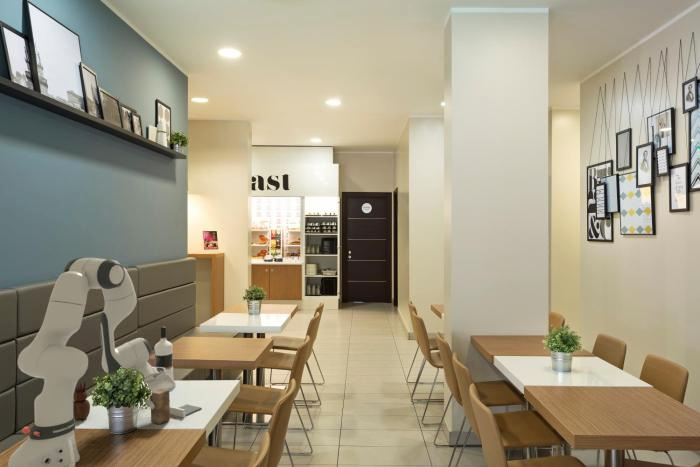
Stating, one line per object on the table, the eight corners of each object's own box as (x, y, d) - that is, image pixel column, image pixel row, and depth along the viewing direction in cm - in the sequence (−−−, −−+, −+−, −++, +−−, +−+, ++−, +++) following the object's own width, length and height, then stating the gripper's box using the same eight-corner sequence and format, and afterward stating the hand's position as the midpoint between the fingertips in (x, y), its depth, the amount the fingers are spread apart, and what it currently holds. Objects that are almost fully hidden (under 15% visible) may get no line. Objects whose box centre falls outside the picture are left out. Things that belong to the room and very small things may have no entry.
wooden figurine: (93, 416, 209) (92, 380, 209) (84, 421, 203) (83, 384, 203) (77, 415, 210) (76, 379, 209) (68, 421, 204) (67, 384, 204)
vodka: (172, 391, 239) (171, 328, 239) (151, 392, 238) (150, 329, 237) (176, 385, 248) (175, 324, 248) (156, 386, 247) (155, 325, 247)
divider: (183, 417, 206) (183, 410, 206) (163, 412, 212) (163, 405, 212) (185, 416, 206) (184, 409, 206) (164, 412, 212) (164, 404, 212)
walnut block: (159, 424, 198) (159, 393, 198) (151, 422, 201) (150, 391, 201) (169, 419, 203) (169, 390, 203) (161, 417, 205) (160, 388, 205)
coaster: (185, 416, 207) (185, 414, 207) (170, 412, 212) (170, 411, 212) (201, 409, 215) (201, 407, 215) (186, 405, 219) (186, 404, 219)
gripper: (125, 379, 196) (142, 408, 191) (167, 366, 214) (184, 393, 209) (118, 389, 198) (135, 418, 194) (160, 375, 216) (177, 402, 211)
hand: (161, 405), depth 202 cm, fingers closed on walnut block, 5 cm apart
